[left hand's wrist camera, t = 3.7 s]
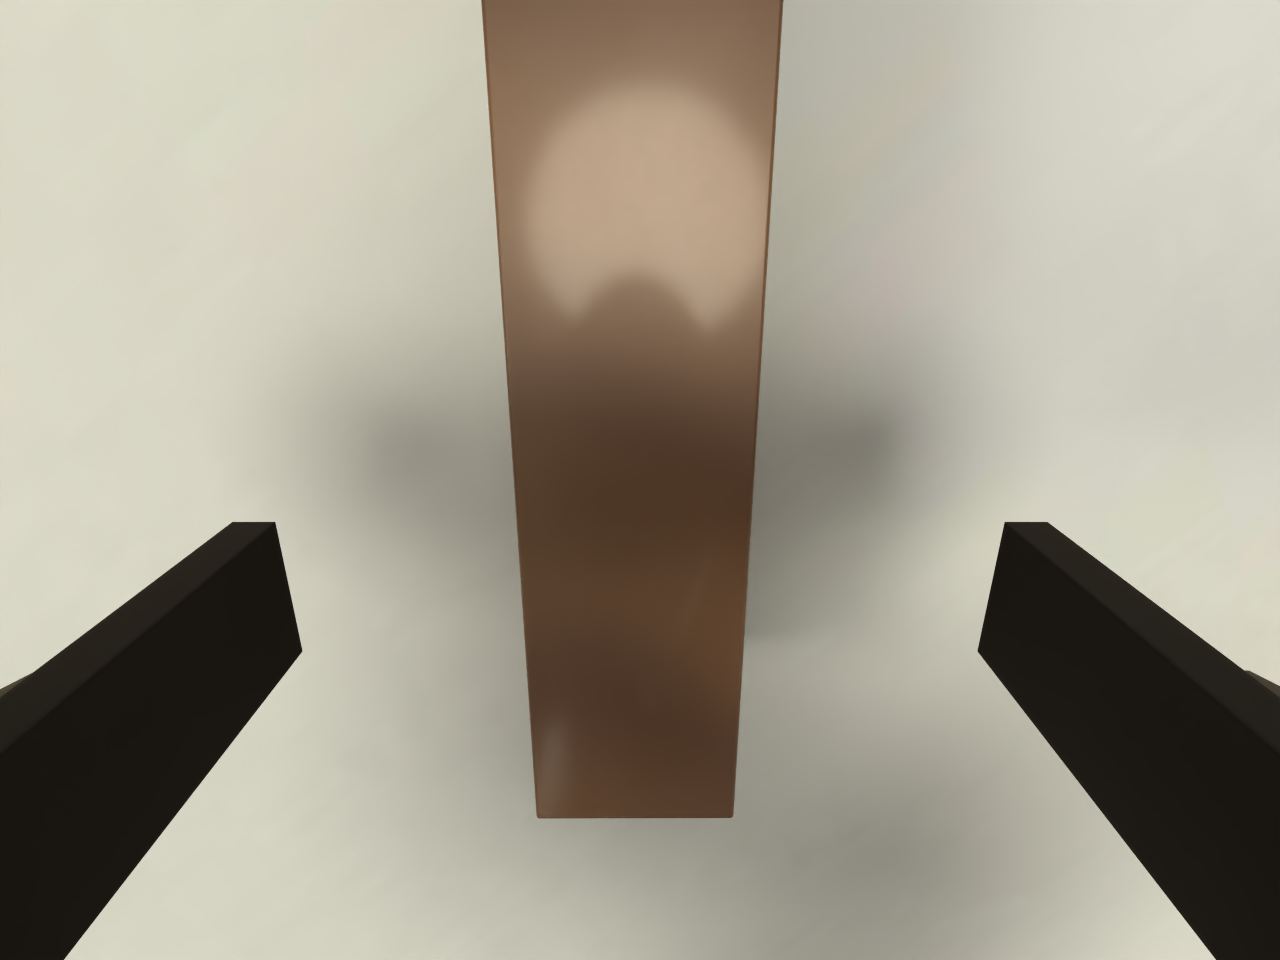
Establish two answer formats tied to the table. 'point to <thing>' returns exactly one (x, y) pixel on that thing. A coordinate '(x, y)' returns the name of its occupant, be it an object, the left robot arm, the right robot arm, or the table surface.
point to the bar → (633, 380)
